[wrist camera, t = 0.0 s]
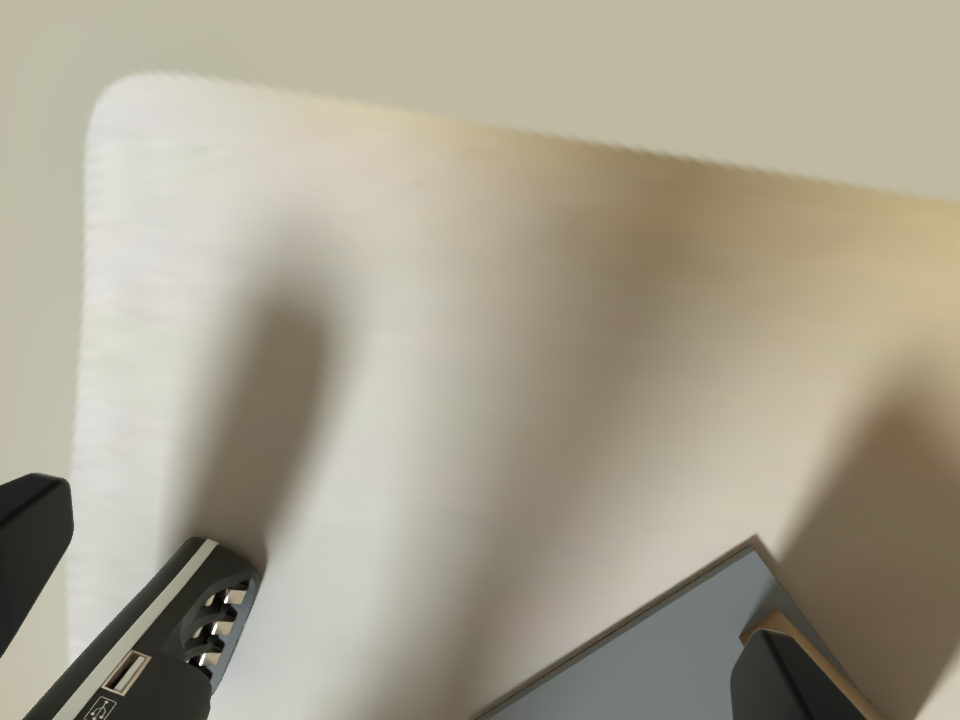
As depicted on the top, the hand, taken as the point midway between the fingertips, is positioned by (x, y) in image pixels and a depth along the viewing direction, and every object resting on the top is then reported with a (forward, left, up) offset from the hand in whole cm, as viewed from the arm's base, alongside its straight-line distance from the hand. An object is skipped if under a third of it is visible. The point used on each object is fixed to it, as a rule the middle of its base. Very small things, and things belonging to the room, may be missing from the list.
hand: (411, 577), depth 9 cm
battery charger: (-14, -3, -16) cm, 22 cm away
